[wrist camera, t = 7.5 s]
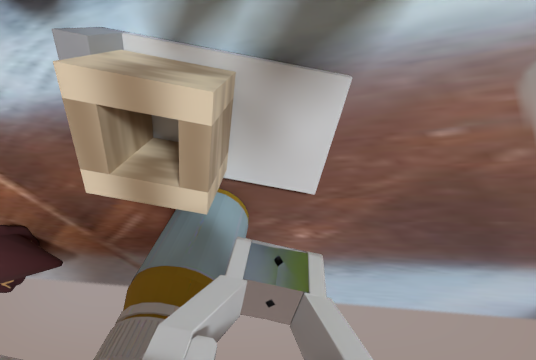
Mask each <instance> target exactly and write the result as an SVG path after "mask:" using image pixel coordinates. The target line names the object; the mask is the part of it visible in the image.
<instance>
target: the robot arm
mask: <svg viewBox="0 0 536 360" xmlns="http://www.w3.org/2000/svg"><path fill="white" fill-rule="evenodd" d="M251 241H252V242H251ZM240 315H246V316H252V317H256V318H262V319H267V320H271V321H275V322H279V323H284V324H288V325H290V328H291V330H292V333H293V335H294V337H295V340H296V342H297V344H298V346H299V349H300V351H301V354H302V356H303V358H304V360H373V358H372V357H371V355H370V354H369V353H368V351H367V350H366V348H365V347H364V345H363V344H362V343H361V341H360V340H359V338H358V337H357V335H356V334H355V332H354V331H353V330H352V328H351V327H350V325H349V324H348V322H347V321H346V320H345V318H344V317H343V315H342V314H341V312H340V311H339V309H338V308H337V306H336V305H335V303H334V302H333V301H332V299H331V298H327V297H326V286H325V274H324V263H323V256H322V255H321V254H317V253H312V252H306V251H302V250H297V249H292V248H288V247H283V246H277V245H273V244H268V243H264V242H260V241H256V240H251V239H246V238H242V237H237V239H236V241H235V244H234V248H233V251H232V254H231V258H230V261H229V264H228V268H227V271H226V274H225V275H220V276H219V277H217V278H216V279H215V280H214V281H212V282H211V283H210V284H209V285H207V286H206V287H205V288H204V289H202V290H201V291H200V292H199V293H197V294H196V295H195V296H194V297H192V298H191V299H190V300H189V301H187V302H186V303H185V304H184V305H182V306H181V307H180V308H179V309H177V310H176V311H175V312H174V313H172V314H171V315H170V316H169V317H168V318H166V319H165V320H164V321H163V322H161V323H160V324H159V325H158V327H157V329H156V331H155V333H154V335H153V337H152V339H151V341H150V344H149V346H148V348H147V350H146V352H145V354H144V356H143V358H142V360H215V356H216V349H217V342H218V341H219V339H220V338H221V337H222V336H223V335H224V334H225V333H226V331H227V330H228V329H229V328H230V327H231V326H232V325H233V323H234V322H235V321H236V320H237V319H238V318H239V317H240ZM0 360H21V359H17V358H12V357H8V356H3V355H0Z"/></svg>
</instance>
